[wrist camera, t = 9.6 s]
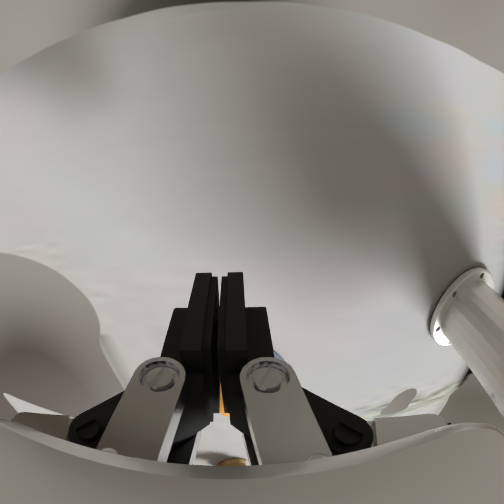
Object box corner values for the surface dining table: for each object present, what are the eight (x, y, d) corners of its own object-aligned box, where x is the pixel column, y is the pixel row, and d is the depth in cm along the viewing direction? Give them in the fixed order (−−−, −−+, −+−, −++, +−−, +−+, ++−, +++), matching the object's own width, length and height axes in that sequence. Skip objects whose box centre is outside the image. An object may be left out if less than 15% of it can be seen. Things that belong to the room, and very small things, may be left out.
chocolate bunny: (255, 463, 44) (259, 503, 35) (222, 468, 45) (222, 507, 36) (244, 455, 42) (246, 499, 33) (208, 461, 43) (207, 502, 34)
